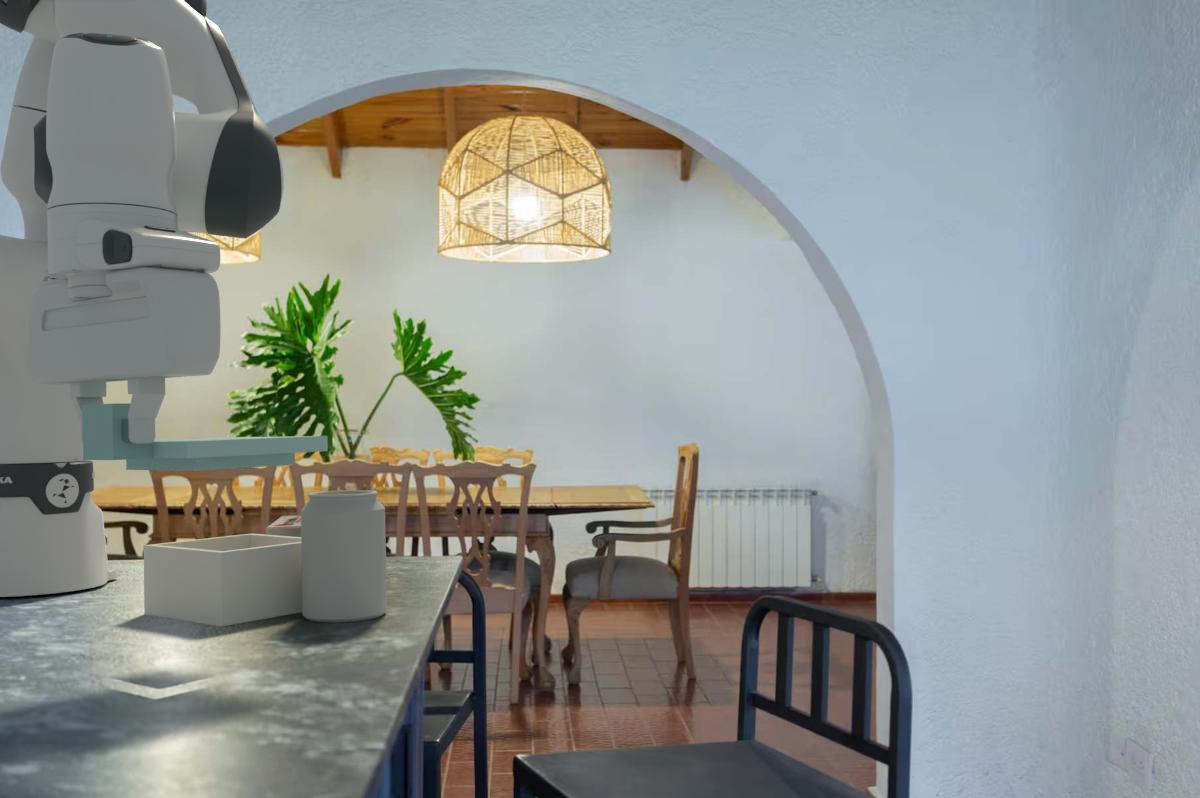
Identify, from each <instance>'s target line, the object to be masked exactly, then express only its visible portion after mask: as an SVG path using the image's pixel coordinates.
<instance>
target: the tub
mask: <svg viewBox="0 0 1200 798" xmlns="http://www.w3.org/2000/svg"><path fill="white" fill-rule="evenodd" d="M143 582H144V583H143V595H144V596H143V600H144V601H143V602H144V603H143V604H144V605H143V608H144V609H143V611H144V613H143V614H144V615H146V616H151V617H157V618H163V619H164V618H165V619H171V620H176V621H177V620H178V621H185V622H190V623H194V624H195V623H196V624H200V625H201V624H202V625H209V626H213V627H221V628H223V627H228V626H234V625H239V624H244V623H250V622H255V621H261V620H267V619H268V620H269V619H272V618H277V617H282V616H283V617H284V616H288V615H289V616H290V615H294V614H302V550H301V537H291V536H278V535H266V533H265V534H263V533H245V534H243V533H242V534H235V535H225V536H218V537H216V536H215V537H208V538H199V539H190V540H180V541H171V542H163V543H162V542H160V543H154V544H145V545H143Z"/></svg>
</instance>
